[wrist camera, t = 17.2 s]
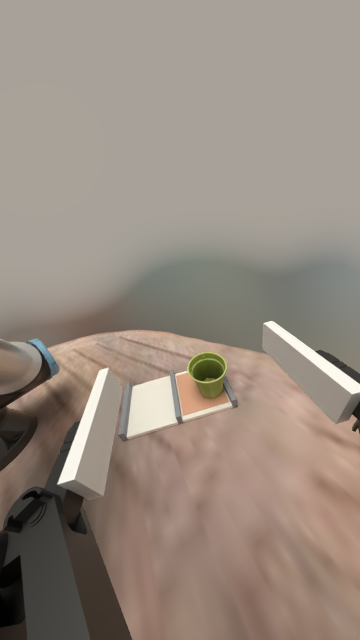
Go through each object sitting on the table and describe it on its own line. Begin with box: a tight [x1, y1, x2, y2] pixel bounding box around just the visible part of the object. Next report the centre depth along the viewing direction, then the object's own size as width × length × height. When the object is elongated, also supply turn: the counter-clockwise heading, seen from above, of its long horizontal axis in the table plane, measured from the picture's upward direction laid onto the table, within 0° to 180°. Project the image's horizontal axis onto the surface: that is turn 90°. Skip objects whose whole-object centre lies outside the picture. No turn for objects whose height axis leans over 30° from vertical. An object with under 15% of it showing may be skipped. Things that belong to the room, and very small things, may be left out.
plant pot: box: [187, 352, 227, 399], centre depth 40 cm, size 9×9×9 cm
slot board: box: [118, 370, 237, 441], centre depth 43 cm, size 28×14×3 cm, turn 100°
